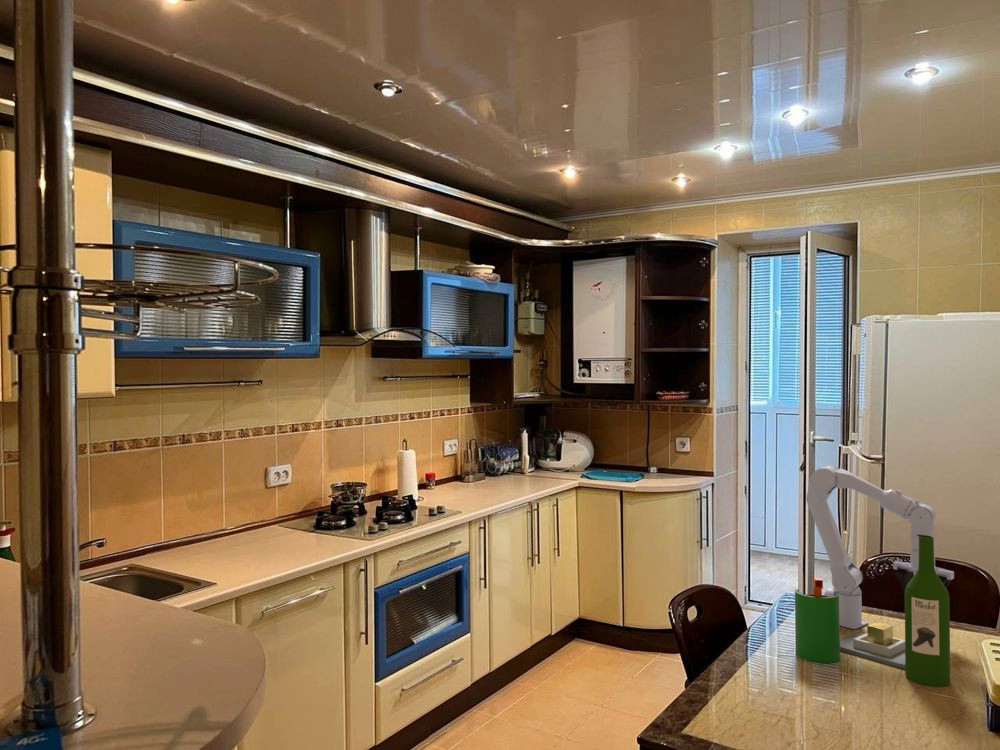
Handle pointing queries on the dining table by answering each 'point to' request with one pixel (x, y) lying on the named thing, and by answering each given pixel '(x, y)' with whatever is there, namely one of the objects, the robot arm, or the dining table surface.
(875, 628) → the tan rectangular block
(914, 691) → the dining table surface
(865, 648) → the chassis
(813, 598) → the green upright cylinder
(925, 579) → the wine bottle
